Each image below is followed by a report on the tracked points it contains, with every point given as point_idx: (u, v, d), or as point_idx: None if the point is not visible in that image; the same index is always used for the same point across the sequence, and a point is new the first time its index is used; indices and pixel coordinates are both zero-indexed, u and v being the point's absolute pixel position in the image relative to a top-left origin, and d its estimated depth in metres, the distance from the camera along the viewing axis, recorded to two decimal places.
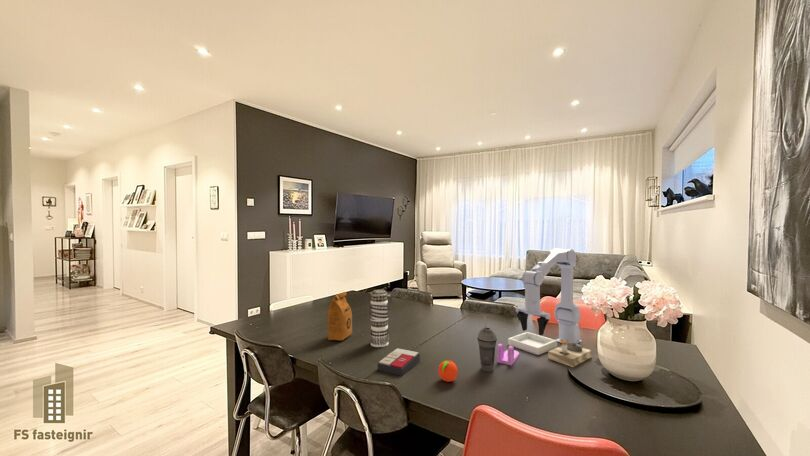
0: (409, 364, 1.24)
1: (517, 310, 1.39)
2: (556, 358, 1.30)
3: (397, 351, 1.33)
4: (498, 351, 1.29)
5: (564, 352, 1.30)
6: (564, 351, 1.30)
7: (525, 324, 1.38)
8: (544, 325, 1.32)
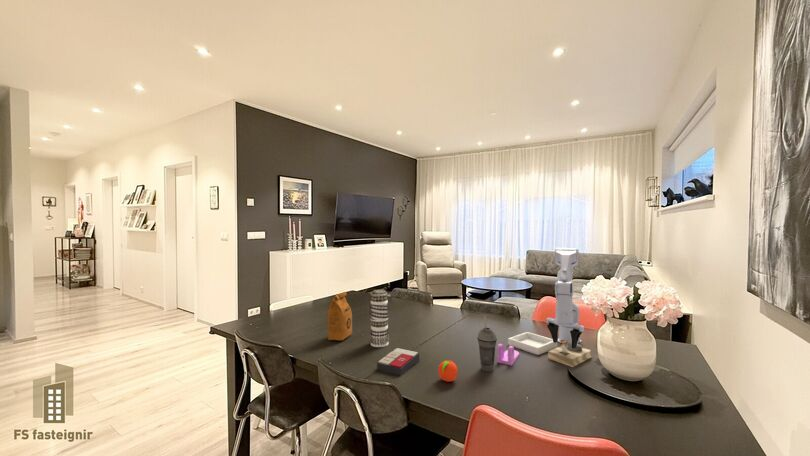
0: (408, 364, 1.24)
1: (547, 321, 1.35)
2: (556, 358, 1.30)
3: (397, 351, 1.33)
4: (498, 351, 1.29)
5: (564, 352, 1.30)
6: (564, 351, 1.30)
7: (556, 336, 1.33)
8: (577, 337, 1.27)
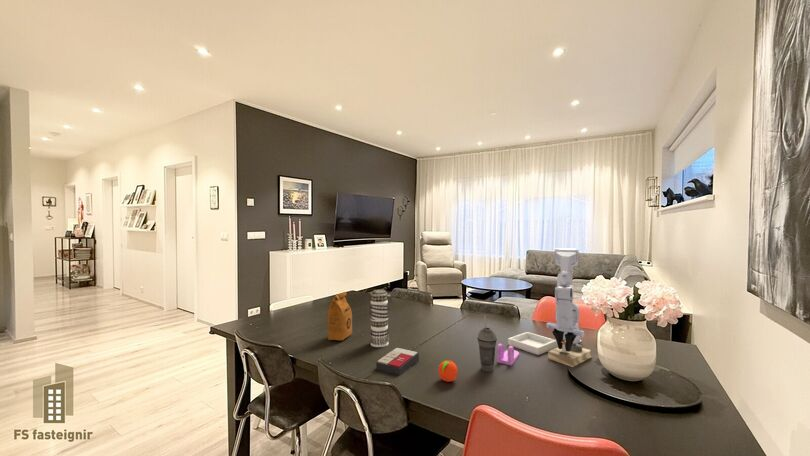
0: (407, 364, 1.24)
1: (547, 326, 1.35)
2: (556, 358, 1.30)
3: (396, 350, 1.34)
4: (498, 351, 1.29)
5: (564, 352, 1.30)
6: (564, 351, 1.30)
7: None
8: (571, 341, 1.29)
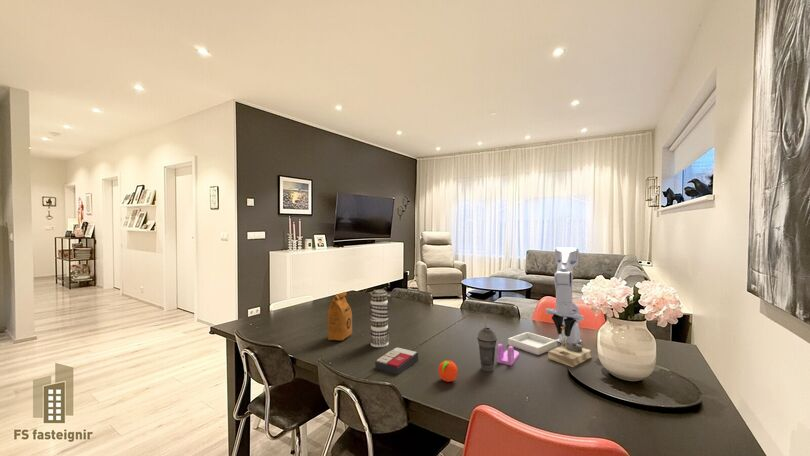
0: (406, 363, 1.25)
1: (547, 312, 1.35)
2: (556, 358, 1.30)
3: (396, 350, 1.34)
4: (498, 351, 1.29)
5: (563, 337, 1.30)
6: (563, 336, 1.30)
7: None
8: (571, 326, 1.29)
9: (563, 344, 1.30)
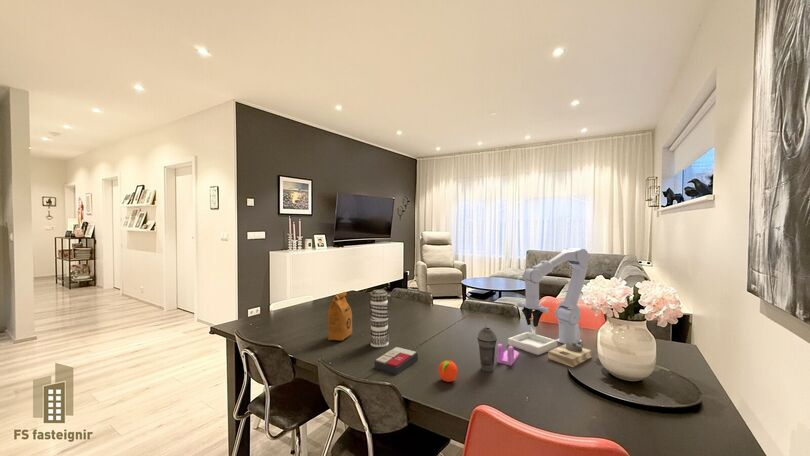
0: (405, 363, 1.25)
1: (518, 305, 1.51)
2: (556, 358, 1.30)
3: (395, 350, 1.34)
4: (498, 351, 1.29)
5: (532, 328, 1.45)
6: (532, 327, 1.45)
7: None
8: (538, 317, 1.45)
9: (532, 334, 1.45)
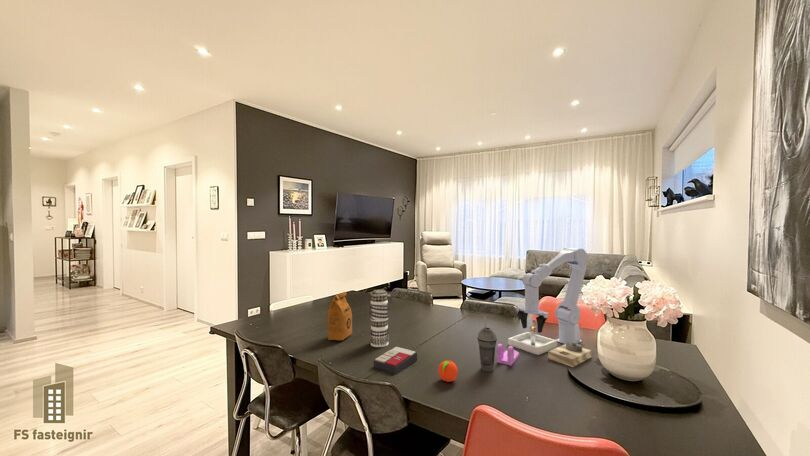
0: (404, 363, 1.25)
1: (518, 309, 1.51)
2: (556, 358, 1.30)
3: (395, 349, 1.35)
4: (498, 351, 1.29)
5: (532, 337, 1.45)
6: (532, 336, 1.45)
7: (525, 322, 1.50)
8: (542, 323, 1.43)
9: (532, 343, 1.45)
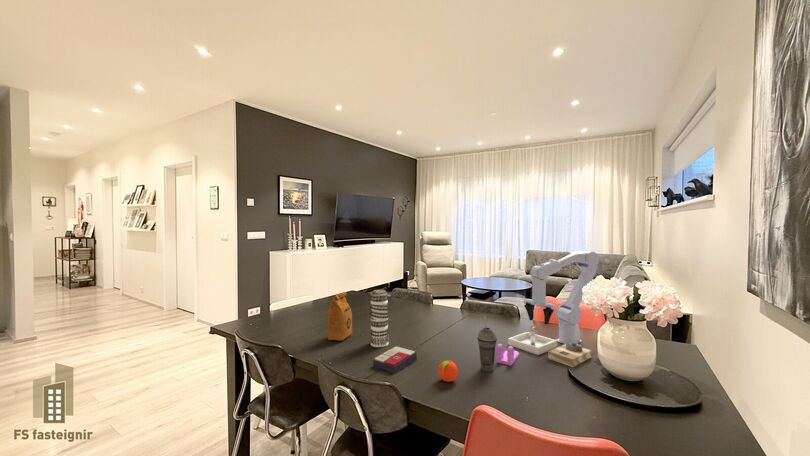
0: (403, 362, 1.25)
1: (524, 302, 1.53)
2: (556, 358, 1.30)
3: (395, 349, 1.35)
4: (498, 351, 1.29)
5: (532, 337, 1.45)
6: (532, 336, 1.45)
7: (532, 314, 1.51)
8: (549, 315, 1.45)
9: (532, 343, 1.45)
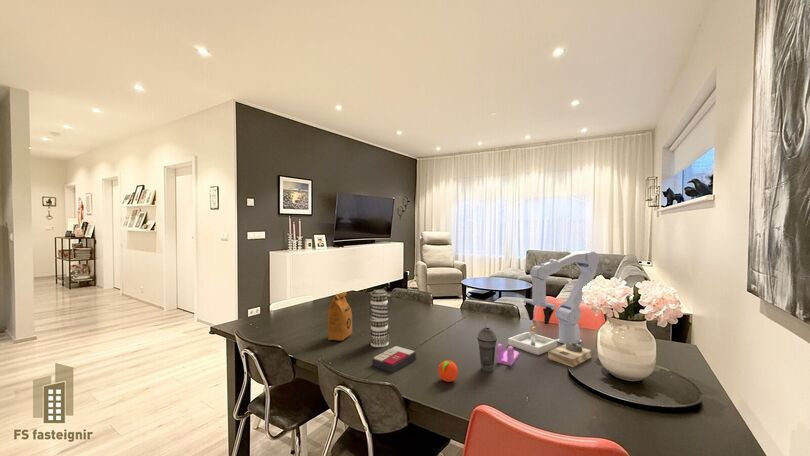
0: (402, 362, 1.26)
1: (525, 301, 1.53)
2: (556, 358, 1.30)
3: (394, 349, 1.36)
4: (498, 351, 1.29)
5: (532, 337, 1.45)
6: (532, 336, 1.45)
7: (532, 314, 1.51)
8: (549, 315, 1.45)
9: (532, 343, 1.45)
